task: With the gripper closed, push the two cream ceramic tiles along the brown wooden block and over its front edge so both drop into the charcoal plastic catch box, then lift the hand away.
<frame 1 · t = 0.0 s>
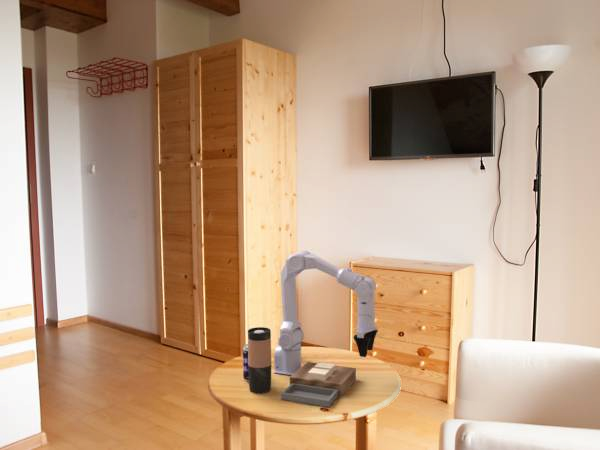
hand: (366, 353, 174), 10 cm above the table, tool pointing down, fingers open, 7 cm apart
tile front: (318, 377, 169), point 4 cm above the table, touching brown wooden block
travel mug: (260, 390, 169), on the table
tile back: (325, 371, 175), point 4 cm above the table, touching brown wooden block
beverage can: (251, 379, 179), on the table
catch box: (309, 398, 162), on the table
brown wooden block: (323, 384, 174), on the table
candle: (285, 359, 200), on the table
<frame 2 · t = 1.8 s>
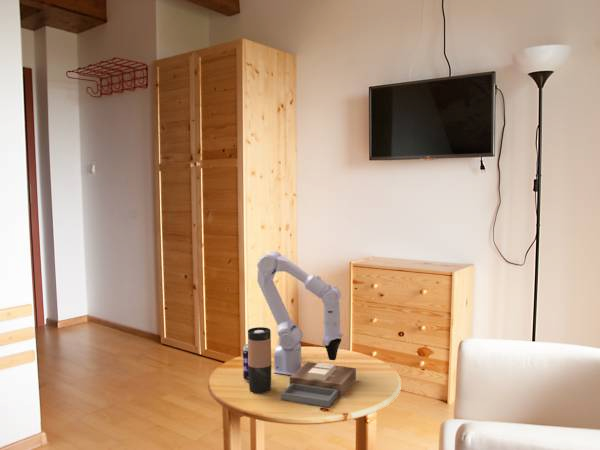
hand: (332, 359, 181), 6 cm above the table, tool pointing down, fingers closed
nothing on the table moved.
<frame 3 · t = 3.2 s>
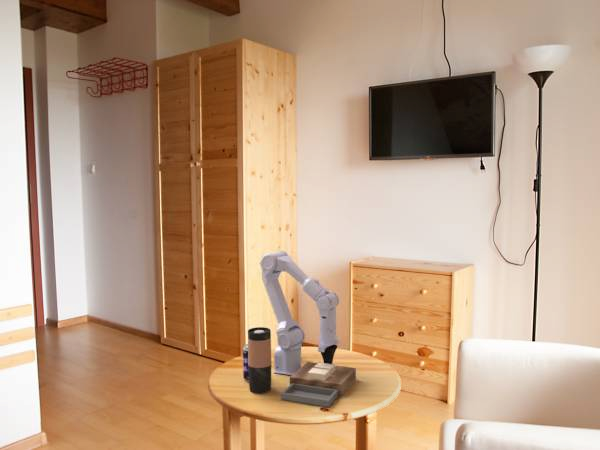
hand: (328, 366, 178), 5 cm above the table, tool pointing down, fingers closed
tile back: (324, 371, 175), point 4 cm above the table, touching gripper, brown wooden block
everything else where it was.
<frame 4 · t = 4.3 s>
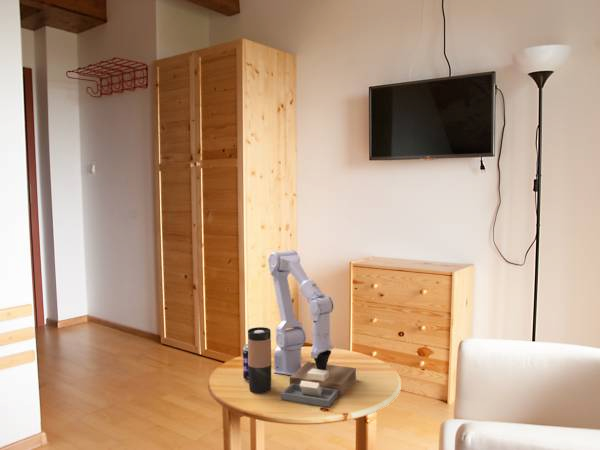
hand: (321, 372, 172), 5 cm above the table, tool pointing down, fingers closed
tile front: (311, 385, 163), point 3 cm above the table, tilted 127°, touching catch box
tile back: (318, 377, 169), point 4 cm above the table, touching gripper
everything else where it was.
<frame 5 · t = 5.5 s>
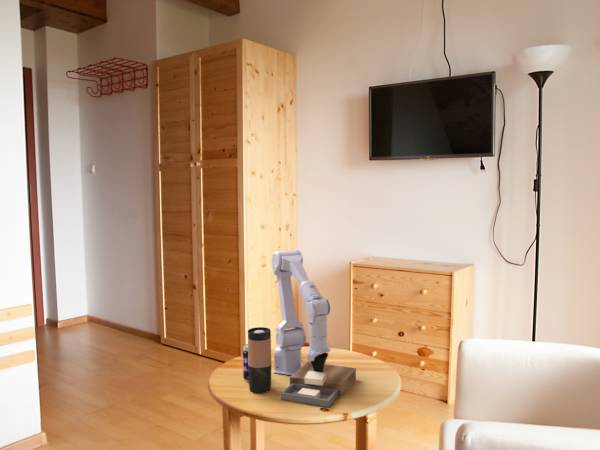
hand: (318, 375, 169), 5 cm above the table, tool pointing down, fingers closed
tile front: (308, 391, 161), point 2 cm above the table, tilted 180°, touching catch box
tile back: (315, 380, 166), point 4 cm above the table, tilted 10°, touching brown wooden block
everything else where it was.
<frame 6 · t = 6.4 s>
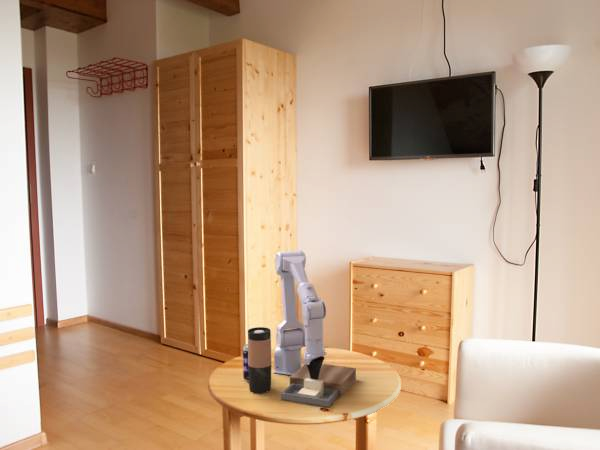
hand: (314, 379, 165), 5 cm above the table, tool pointing down, fingers closed
tile back: (314, 386, 165), point 3 cm above the table, tilted 92°, touching catch box, gripper
everything else where it was.
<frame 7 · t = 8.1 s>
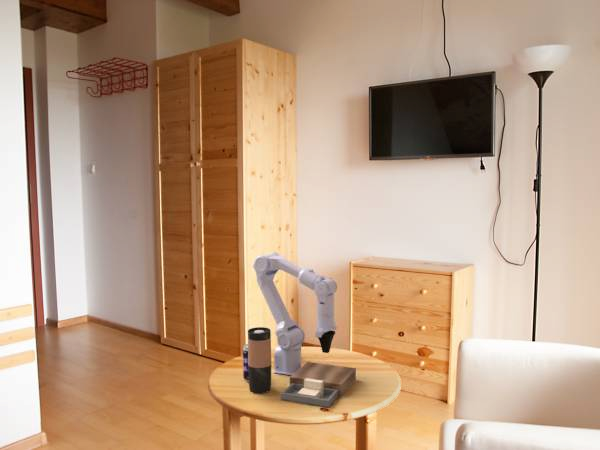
hand: (325, 352, 177), 10 cm above the table, tool pointing down, fingers closed
tile back: (314, 386, 165), point 3 cm above the table, tilted 90°, touching catch box
everything else where it was.
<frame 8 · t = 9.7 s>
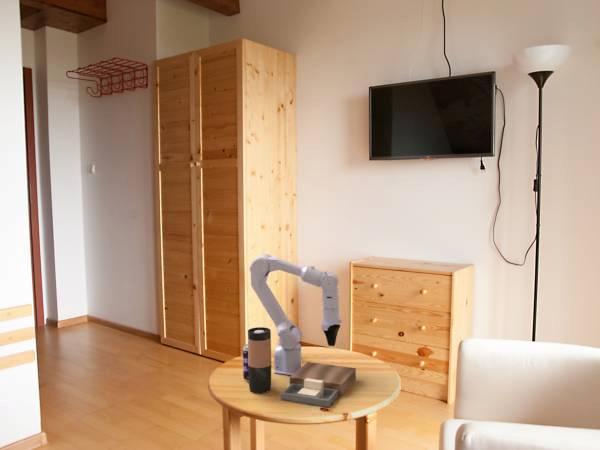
hand: (331, 345, 182), 10 cm above the table, tool pointing down, fingers closed
nothing on the table moved.
at the end: tile front inside the target area (0.6 cm from its centre), point 2.4 cm above the table; tile back inside the target area (3.8 cm from its centre), point 2.6 cm above the table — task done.
